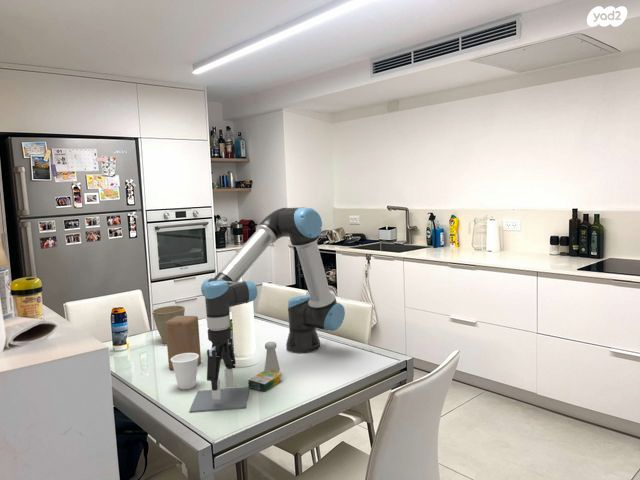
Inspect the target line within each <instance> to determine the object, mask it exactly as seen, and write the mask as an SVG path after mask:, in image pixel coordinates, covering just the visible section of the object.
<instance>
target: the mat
mask: <svg viewBox="0 0 640 480" xmlns="http://www.w3.org/2000/svg"><path fill="white" fill-rule="evenodd" d="M220 391H221V399H212V389H206V390H198V391H197V392H196V395H195V397H194V398H193V401H192V403H191V405H190V408H189V410H188V412H189V413H201V412H212V411H213V412H214V411H216V412H217V411H227V410H240V409H241V410H242V409H247V403H248V400H249V399H248V398H249V394H250V393H249V392H250V387H248V386H246V387H233V388H220Z"/></svg>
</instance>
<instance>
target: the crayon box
mask: <svg viewBox="0 0 640 480" xmlns="http://www.w3.org/2000/svg"><path fill="white" fill-rule="evenodd" d="M274 372H277V371H274ZM274 372H270V371H268V370H265V371H264V370H263V371H261V372H260V373H258V374H256V375H253V376H252V377H250V378H249V379H247V387H249V389H250V388H252V389H254V390H258V391H262V392H266V391H267V390H269V389H271V388H273V387H274V386H276V385H278V384H279V383H280V382H281V375H282V374H283V372H280V371H279V372H277V373H274Z"/></svg>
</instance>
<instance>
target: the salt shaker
mask: <svg viewBox="0 0 640 480" xmlns="http://www.w3.org/2000/svg"><path fill="white" fill-rule="evenodd" d="M264 349H265V350H266V354H265V361H264V370H263V371H265V370H268V371H270V372H274V371H277V372H280V370H281V367H280V364H279V360H278V359H279V358H278V355H277V352H276V349H277V343H276V342H275V341H268V342H267V341H266V343H265V344H264ZM277 372H274V373H277Z"/></svg>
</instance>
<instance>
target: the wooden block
mask: <svg viewBox="0 0 640 480" xmlns="http://www.w3.org/2000/svg"><path fill="white" fill-rule="evenodd" d="M166 337H167V344H166V346H167V347H166V348H167V357H168V358H167V359H168V368H169V370H174V368H173V364H172V361H171V358H172V357H174V356H176V355H179V354H183V353H196V354H198V355H199V357H198V365H199V364H200V363H201V361H202V357H201V356H202V354H201V343H200V327H199V317H198V316H197V315H184V316H176V317H174V318H172V319H170V320H168V321H167V322H166Z"/></svg>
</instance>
